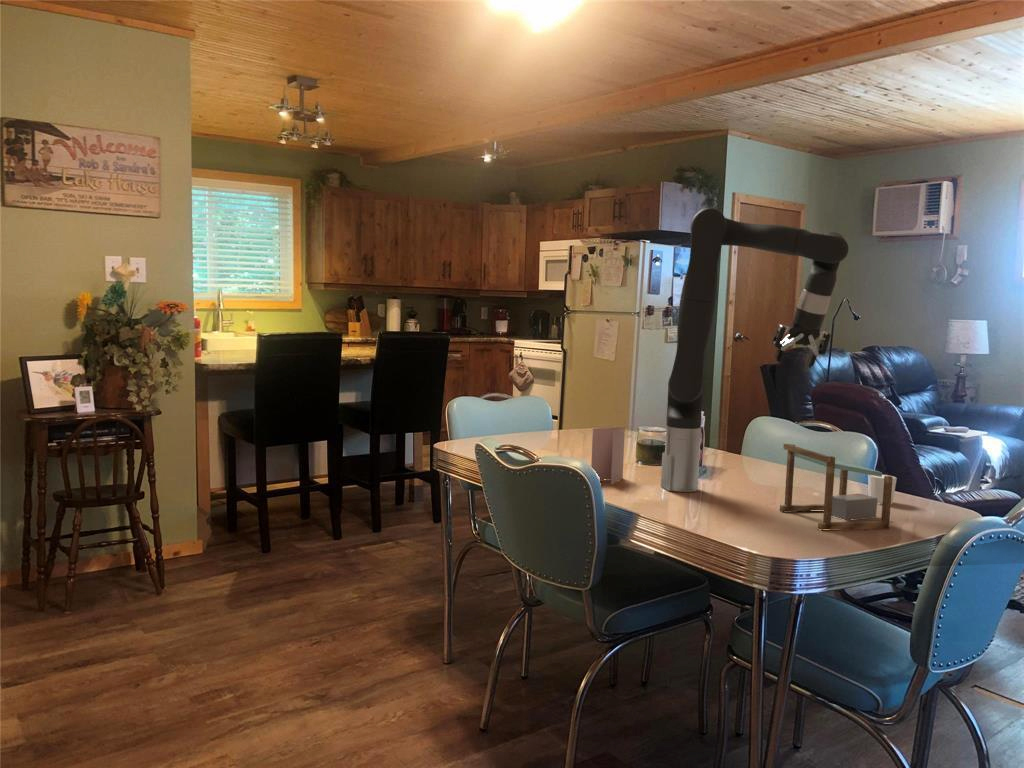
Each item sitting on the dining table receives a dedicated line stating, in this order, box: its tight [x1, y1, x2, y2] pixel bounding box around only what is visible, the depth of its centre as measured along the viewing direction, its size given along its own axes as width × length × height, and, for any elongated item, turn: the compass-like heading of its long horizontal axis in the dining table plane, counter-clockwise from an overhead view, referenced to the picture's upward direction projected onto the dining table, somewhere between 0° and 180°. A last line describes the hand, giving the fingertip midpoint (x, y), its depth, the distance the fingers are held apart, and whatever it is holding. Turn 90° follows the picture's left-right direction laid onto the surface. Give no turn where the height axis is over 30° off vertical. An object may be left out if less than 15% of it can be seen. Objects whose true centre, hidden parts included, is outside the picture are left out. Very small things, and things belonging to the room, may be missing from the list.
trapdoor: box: [794, 452, 883, 477], centre depth 181 cm, size 14×14×1 cm
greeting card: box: [590, 426, 626, 486], centre depth 218 cm, size 11×7×15 cm, turn 121°
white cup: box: [867, 473, 898, 505], centre depth 202 cm, size 7×7×7 cm
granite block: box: [832, 492, 878, 521], centre depth 186 cm, size 5×5×10 cm
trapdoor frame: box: [779, 443, 893, 531], centre depth 182 cm, size 17×18×17 cm
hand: (793, 364), depth 211 cm, fingers open, 8 cm apart
